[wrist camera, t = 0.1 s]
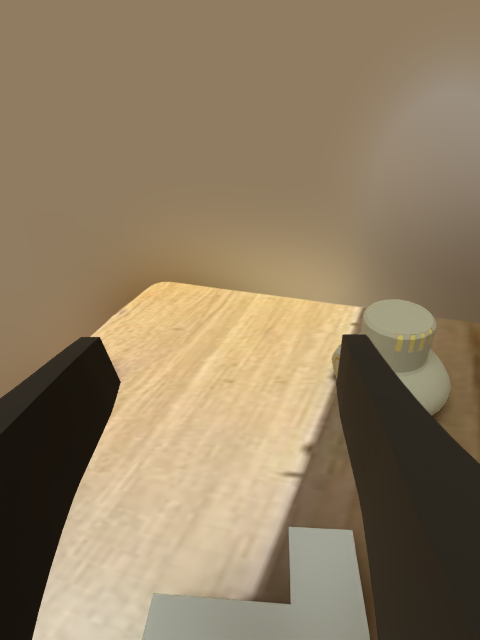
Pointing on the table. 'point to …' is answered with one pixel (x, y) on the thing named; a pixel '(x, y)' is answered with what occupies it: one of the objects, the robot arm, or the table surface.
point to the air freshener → (407, 349)
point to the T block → (273, 618)
